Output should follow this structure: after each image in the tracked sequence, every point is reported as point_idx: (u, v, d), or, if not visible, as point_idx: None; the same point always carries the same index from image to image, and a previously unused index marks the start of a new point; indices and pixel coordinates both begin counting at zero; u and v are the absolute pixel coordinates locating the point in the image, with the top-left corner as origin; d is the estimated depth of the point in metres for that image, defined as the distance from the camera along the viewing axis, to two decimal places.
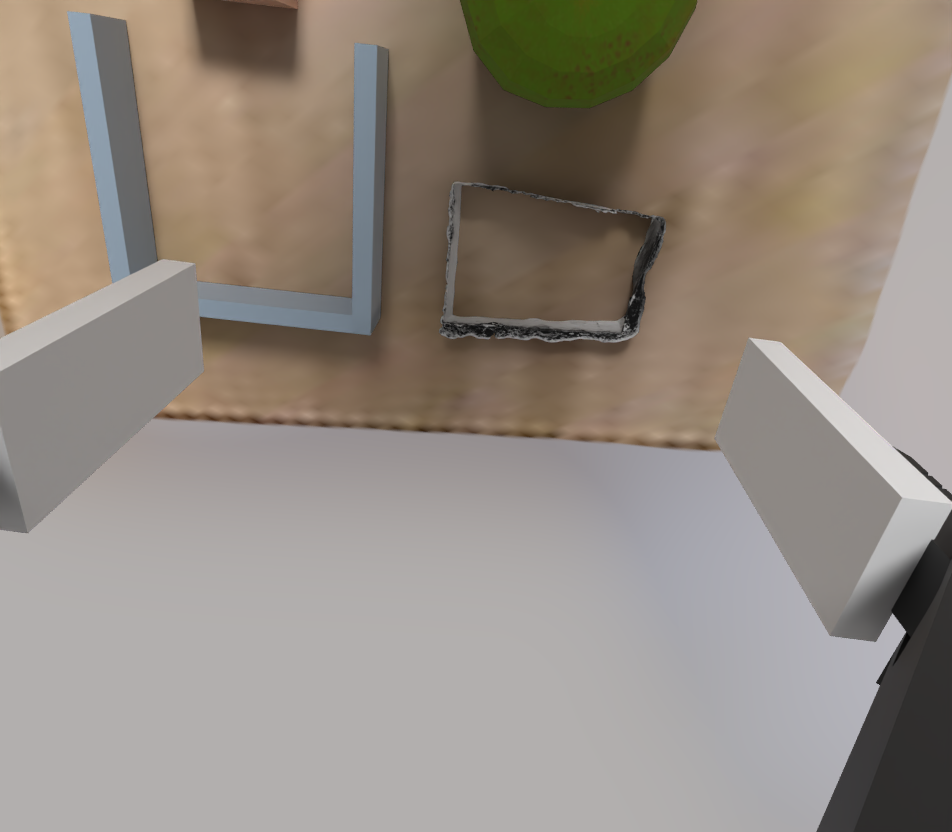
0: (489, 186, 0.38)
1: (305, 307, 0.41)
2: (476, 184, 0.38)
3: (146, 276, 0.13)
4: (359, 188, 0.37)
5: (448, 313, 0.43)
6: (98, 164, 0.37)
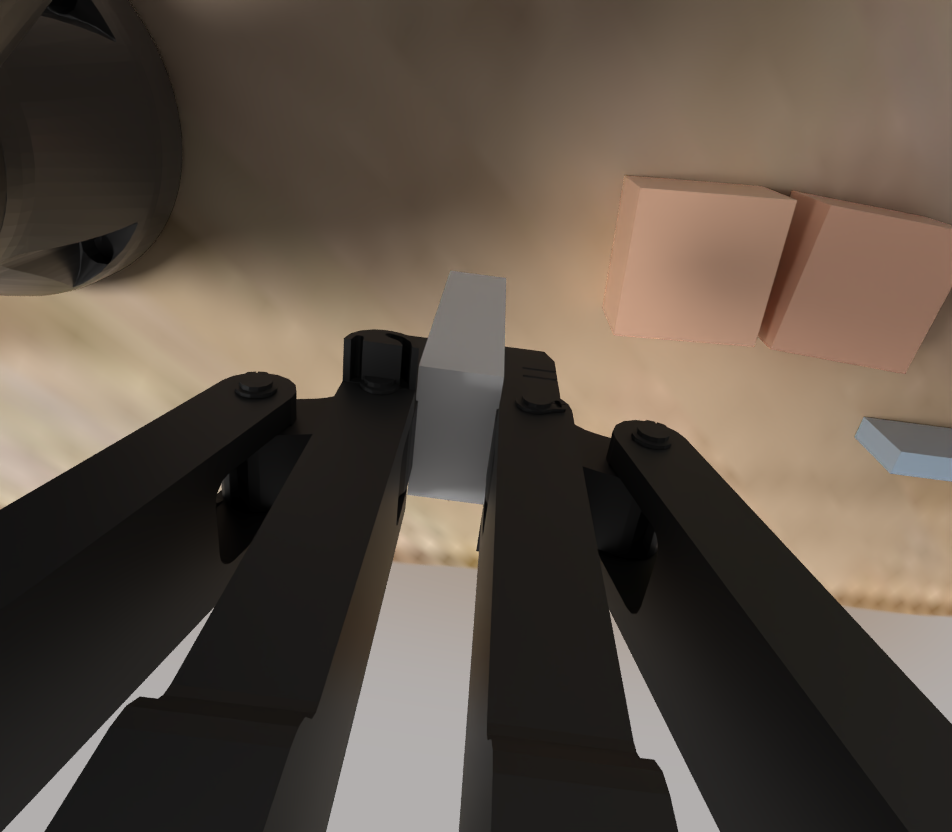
0: None
1: None
2: None
3: (458, 286, 0.16)
4: None
5: None
6: None
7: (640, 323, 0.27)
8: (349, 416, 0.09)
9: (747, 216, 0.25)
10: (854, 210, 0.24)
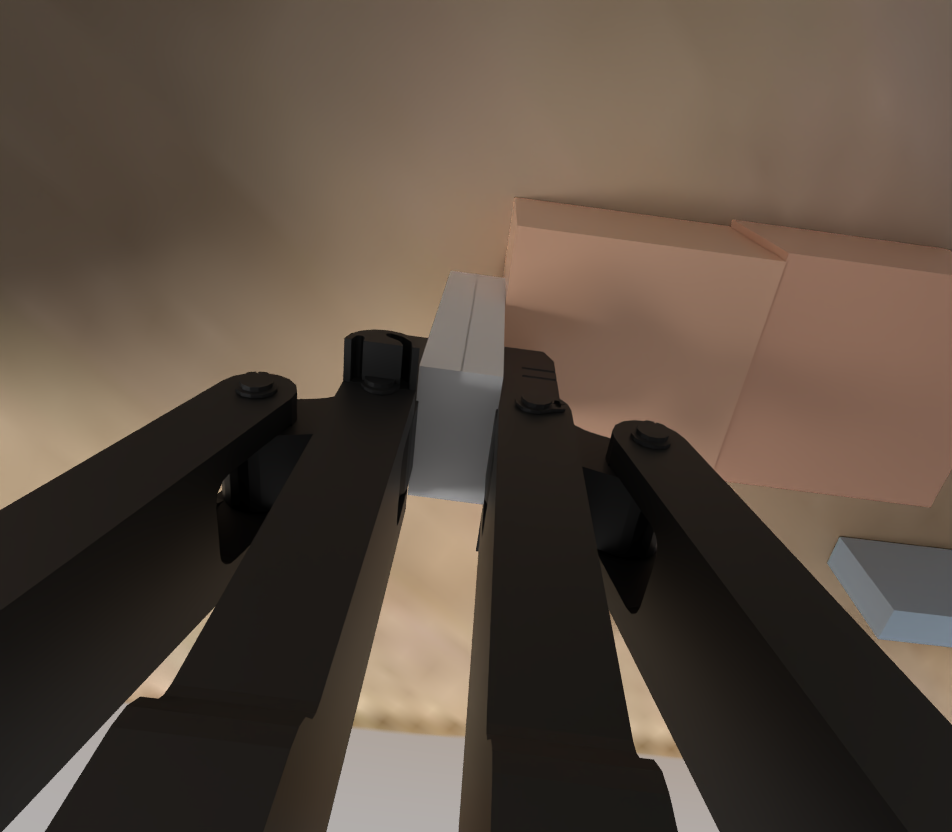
0: None
1: None
2: None
3: (459, 286, 0.16)
4: None
5: None
6: None
7: None
8: (350, 416, 0.09)
9: (700, 284, 0.14)
10: (830, 259, 0.14)
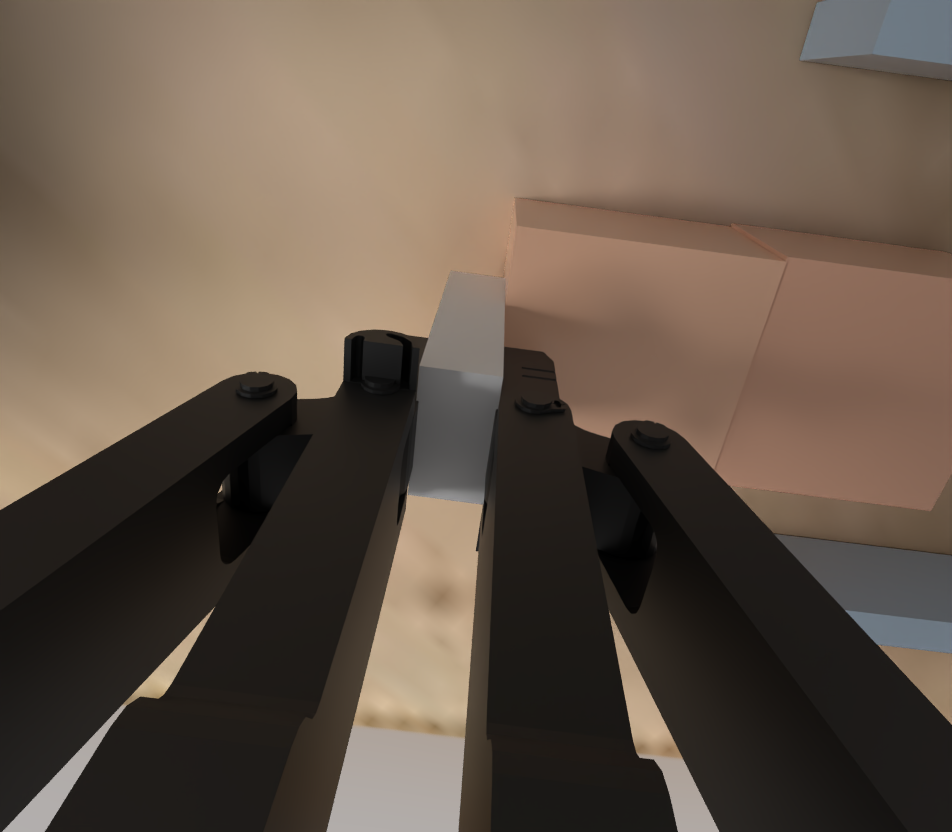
0: None
1: None
2: None
3: (459, 286, 0.16)
4: None
5: None
6: (918, 641, 0.19)
7: None
8: (350, 416, 0.09)
9: (700, 284, 0.14)
10: (828, 263, 0.14)
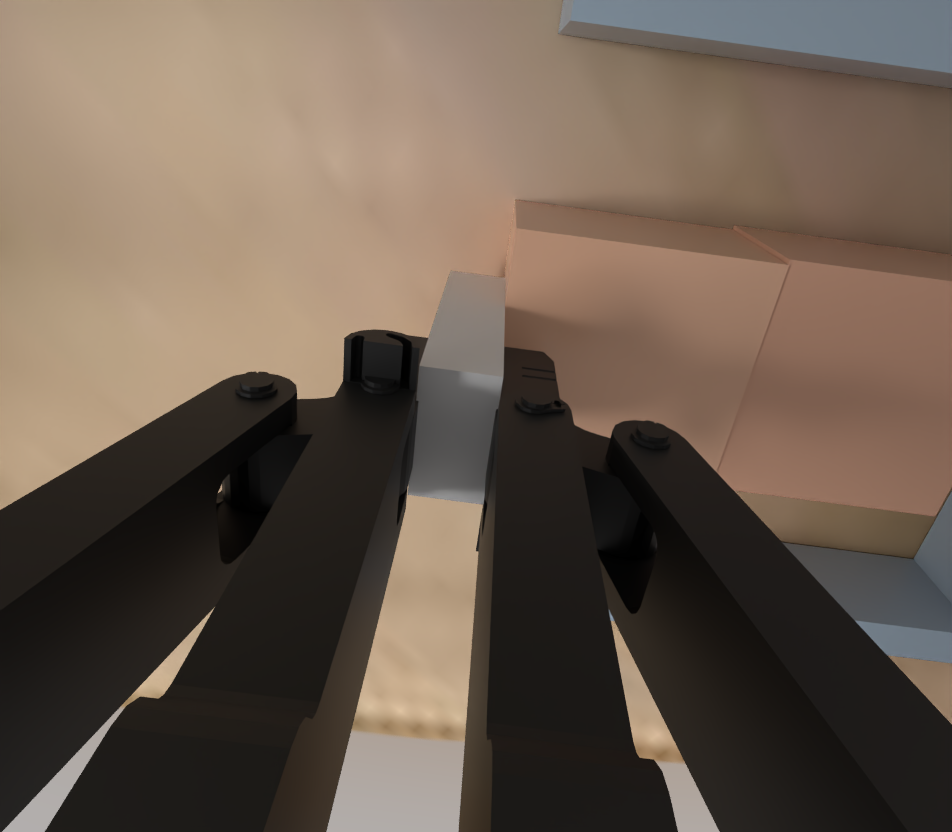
0: None
1: None
2: None
3: (459, 286, 0.16)
4: (946, 50, 0.12)
5: None
6: None
7: None
8: (349, 416, 0.09)
9: (701, 287, 0.14)
10: (831, 266, 0.14)
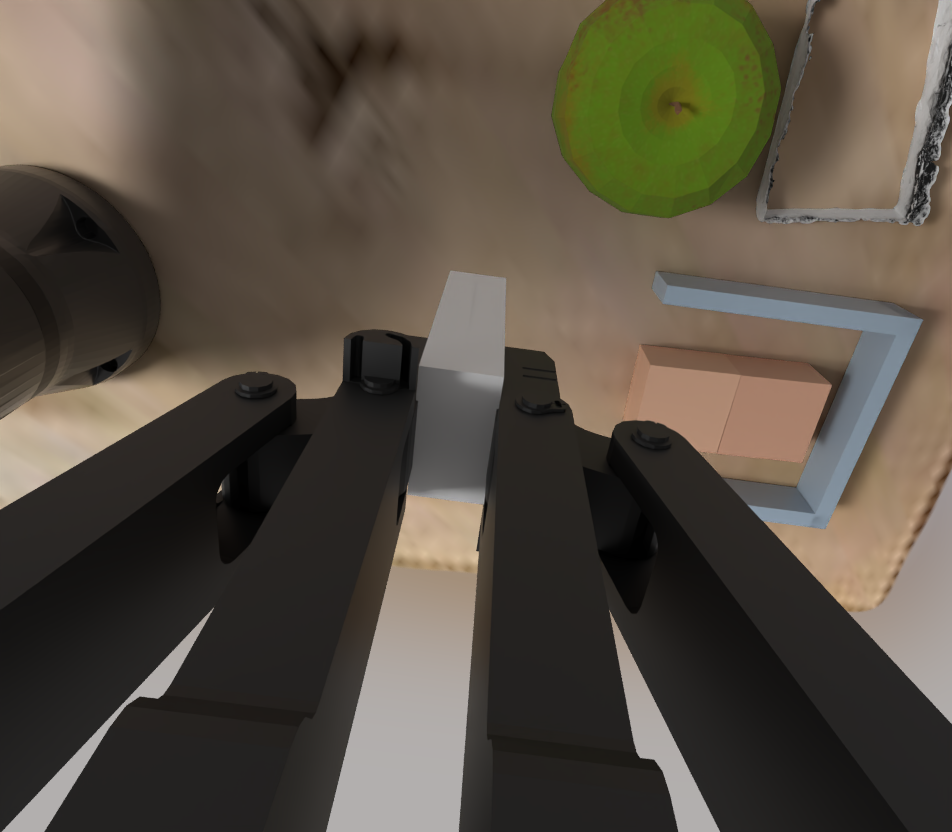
0: (770, 184, 0.38)
1: (872, 377, 0.42)
2: (766, 198, 0.38)
3: (458, 286, 0.16)
4: (778, 313, 0.40)
5: (893, 214, 0.40)
6: None
7: None
8: (349, 416, 0.09)
9: (712, 382, 0.42)
10: (755, 377, 0.42)
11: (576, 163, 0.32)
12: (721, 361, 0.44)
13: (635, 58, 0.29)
